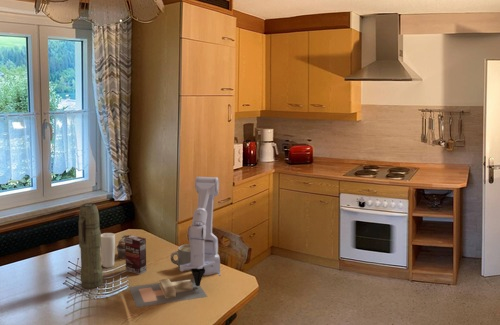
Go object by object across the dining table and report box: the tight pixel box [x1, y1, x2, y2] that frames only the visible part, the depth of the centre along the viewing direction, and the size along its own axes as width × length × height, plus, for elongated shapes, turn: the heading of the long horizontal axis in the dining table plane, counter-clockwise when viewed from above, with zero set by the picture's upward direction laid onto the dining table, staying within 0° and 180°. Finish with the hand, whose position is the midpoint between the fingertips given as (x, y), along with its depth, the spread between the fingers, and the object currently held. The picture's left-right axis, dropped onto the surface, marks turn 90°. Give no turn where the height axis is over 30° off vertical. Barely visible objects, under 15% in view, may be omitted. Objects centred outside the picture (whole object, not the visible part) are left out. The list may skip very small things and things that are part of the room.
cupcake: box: [116, 234, 132, 260], centre depth 250 cm, size 10×10×10 cm
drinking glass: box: [100, 232, 116, 268], centre depth 236 cm, size 7×7×15 cm
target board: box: [128, 277, 208, 308], centre depth 207 cm, size 28×20×1 cm
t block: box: [159, 278, 193, 298], centre depth 208 cm, size 12×12×3 cm
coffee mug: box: [170, 243, 191, 272], centre depth 234 cm, size 13×10×10 cm
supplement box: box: [125, 234, 147, 275], centre depth 229 cm, size 9×5×16 cm, turn 62°
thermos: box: [77, 202, 103, 290], centre depth 212 cm, size 9×12×35 cm
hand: (197, 285), depth 211 cm, fingers closed
